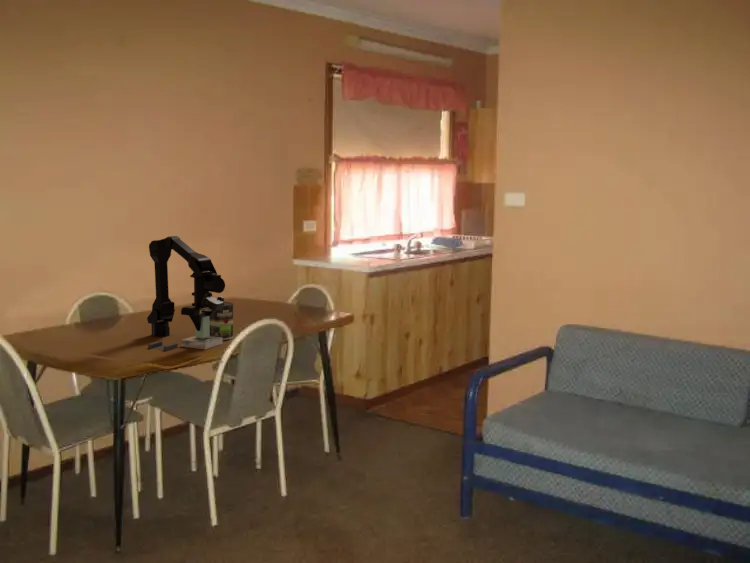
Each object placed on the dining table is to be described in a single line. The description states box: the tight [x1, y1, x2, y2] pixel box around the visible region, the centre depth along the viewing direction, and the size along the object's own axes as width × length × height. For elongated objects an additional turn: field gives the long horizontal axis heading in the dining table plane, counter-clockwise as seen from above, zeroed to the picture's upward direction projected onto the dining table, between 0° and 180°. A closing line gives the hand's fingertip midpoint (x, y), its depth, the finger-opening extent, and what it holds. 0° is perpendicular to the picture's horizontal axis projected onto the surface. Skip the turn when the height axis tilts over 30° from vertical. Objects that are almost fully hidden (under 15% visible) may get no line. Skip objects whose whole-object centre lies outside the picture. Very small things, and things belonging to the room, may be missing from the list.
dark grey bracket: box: [147, 340, 179, 352], centre depth 309 cm, size 9×6×2 cm, turn 66°
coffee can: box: [210, 301, 234, 341], centre depth 332 cm, size 10×10×14 cm
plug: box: [194, 312, 210, 338], centre depth 314 cm, size 4×4×10 cm
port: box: [181, 335, 223, 350], centre depth 315 cm, size 11×11×4 cm
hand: (202, 329), depth 314 cm, fingers closed on plug, 4 cm apart
